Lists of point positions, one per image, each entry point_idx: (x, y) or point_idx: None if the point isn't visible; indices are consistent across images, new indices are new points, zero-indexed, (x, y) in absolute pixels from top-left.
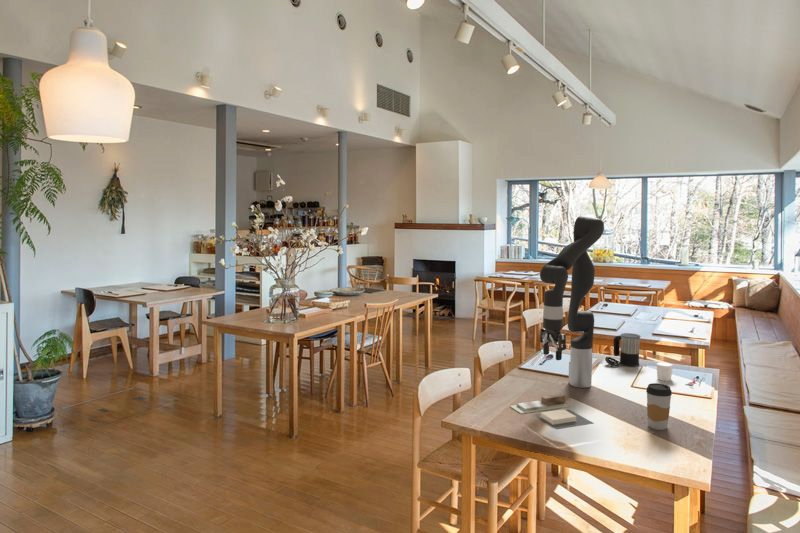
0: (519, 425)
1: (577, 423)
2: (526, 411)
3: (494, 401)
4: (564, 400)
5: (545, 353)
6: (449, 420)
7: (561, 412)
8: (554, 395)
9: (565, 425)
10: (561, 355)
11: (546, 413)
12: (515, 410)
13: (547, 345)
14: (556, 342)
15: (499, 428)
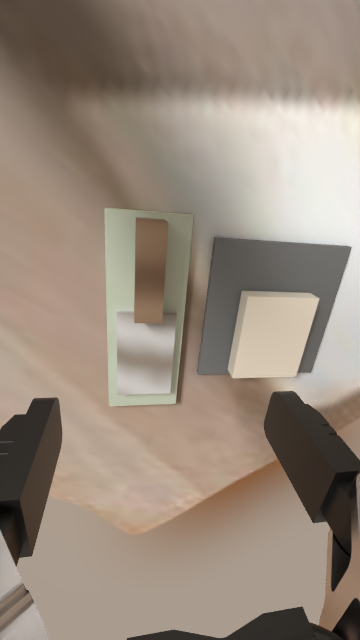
0: (231, 427)
1: (320, 298)
2: (173, 385)
3: None
4: (165, 220)
5: (58, 440)
6: (132, 533)
7: (268, 321)
8: (144, 264)
9: (308, 337)
10: (335, 434)
11: (248, 367)
12: (144, 402)
13: (16, 519)
14: (328, 636)
15: (222, 468)
